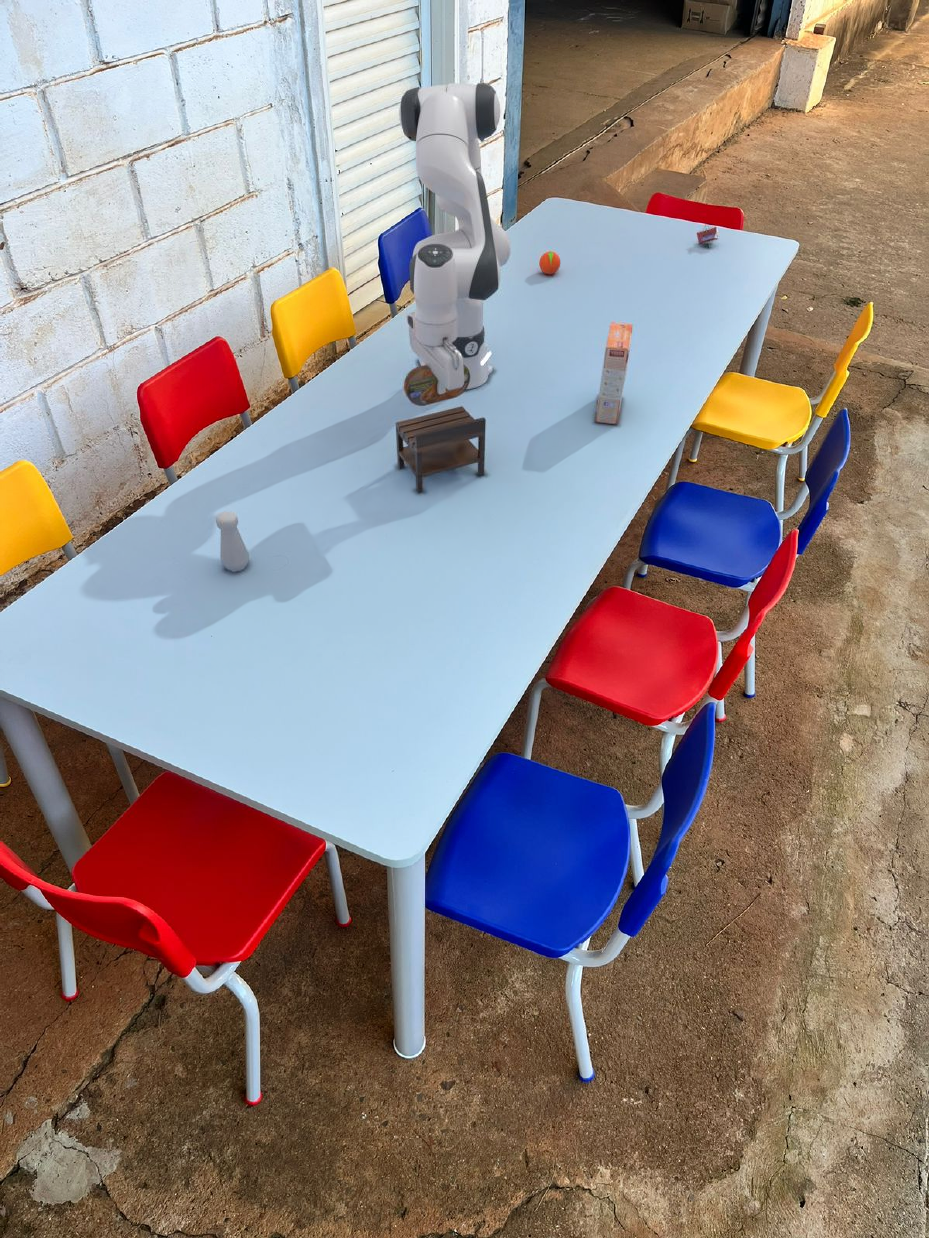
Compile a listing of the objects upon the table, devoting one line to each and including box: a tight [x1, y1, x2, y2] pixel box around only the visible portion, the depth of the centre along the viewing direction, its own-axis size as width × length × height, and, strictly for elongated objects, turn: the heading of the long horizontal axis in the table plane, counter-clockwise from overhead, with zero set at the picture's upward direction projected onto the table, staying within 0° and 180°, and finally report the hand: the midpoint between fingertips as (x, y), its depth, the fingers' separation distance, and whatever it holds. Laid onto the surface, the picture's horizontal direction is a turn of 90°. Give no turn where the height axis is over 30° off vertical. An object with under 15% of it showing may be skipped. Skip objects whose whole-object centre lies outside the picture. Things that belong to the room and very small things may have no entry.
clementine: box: [538, 251, 561, 275], centre depth 291 cm, size 8×7×7 cm
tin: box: [403, 364, 470, 407], centre depth 194 cm, size 15×3×8 cm, turn 116°
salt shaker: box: [215, 510, 250, 573], centre depth 181 cm, size 6×6×13 cm
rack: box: [395, 406, 487, 494], centre depth 206 cm, size 12×17×15 cm
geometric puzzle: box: [696, 223, 720, 248], centre depth 310 cm, size 7×7×8 cm
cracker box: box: [595, 321, 633, 426], centre depth 225 cm, size 14×6×21 cm, turn 168°
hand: (436, 388), depth 195 cm, fingers closed on tin, 2 cm apart
